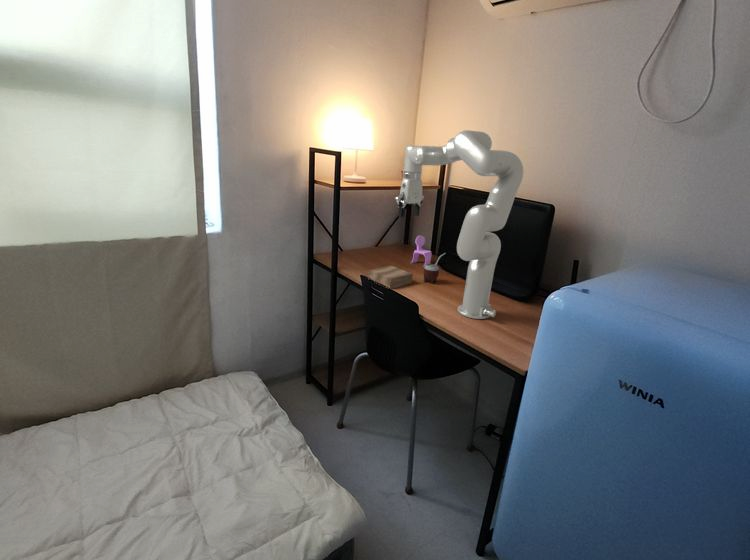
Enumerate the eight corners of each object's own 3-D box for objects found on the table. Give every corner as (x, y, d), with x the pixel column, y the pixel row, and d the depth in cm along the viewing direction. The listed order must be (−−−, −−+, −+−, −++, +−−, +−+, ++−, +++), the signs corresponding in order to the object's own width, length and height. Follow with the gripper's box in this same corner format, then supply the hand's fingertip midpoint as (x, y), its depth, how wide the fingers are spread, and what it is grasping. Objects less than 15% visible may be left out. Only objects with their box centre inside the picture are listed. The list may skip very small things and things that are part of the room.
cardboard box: (411, 284, 187) (412, 273, 185) (389, 289, 178) (390, 278, 176) (390, 275, 197) (391, 265, 195) (368, 280, 187) (369, 270, 186)
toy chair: (423, 267, 211) (426, 239, 206) (409, 263, 217) (412, 235, 212) (432, 264, 217) (435, 237, 213) (418, 261, 223) (421, 233, 218)
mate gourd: (420, 279, 193) (423, 248, 188) (435, 279, 195) (439, 248, 190) (426, 285, 186) (429, 253, 181) (442, 284, 188) (446, 253, 183)
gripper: (405, 177, 166) (401, 219, 171) (431, 176, 178) (427, 216, 183) (391, 175, 171) (388, 216, 176) (418, 175, 183) (414, 213, 188)
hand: (408, 216), depth 180 cm, fingers open, 9 cm apart
